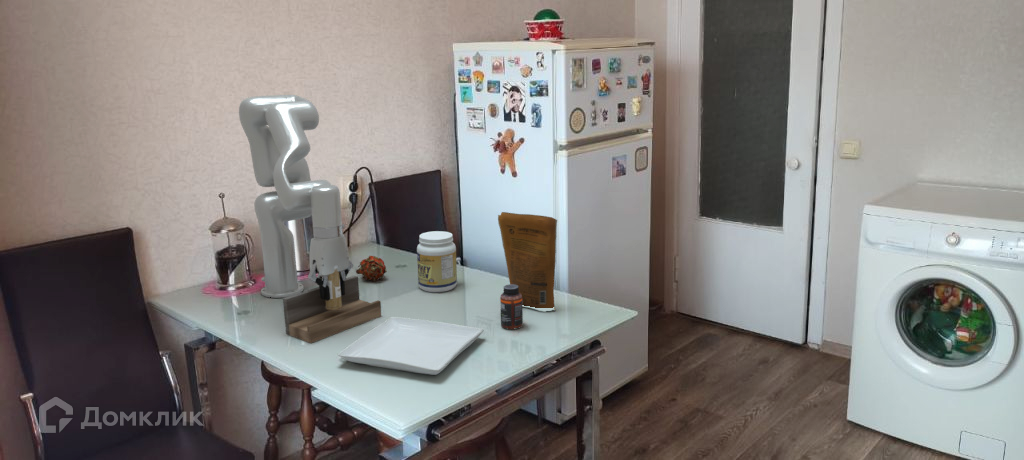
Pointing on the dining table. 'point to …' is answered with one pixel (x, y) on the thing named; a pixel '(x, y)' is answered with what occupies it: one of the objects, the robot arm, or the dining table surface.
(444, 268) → the supplement tub
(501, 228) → the pancake mix bag
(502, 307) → the supplement bottle
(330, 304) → the sprinkles bottle
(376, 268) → the dragon fruit
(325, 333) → the spice rack
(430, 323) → the square plate
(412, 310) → the dining table surface
